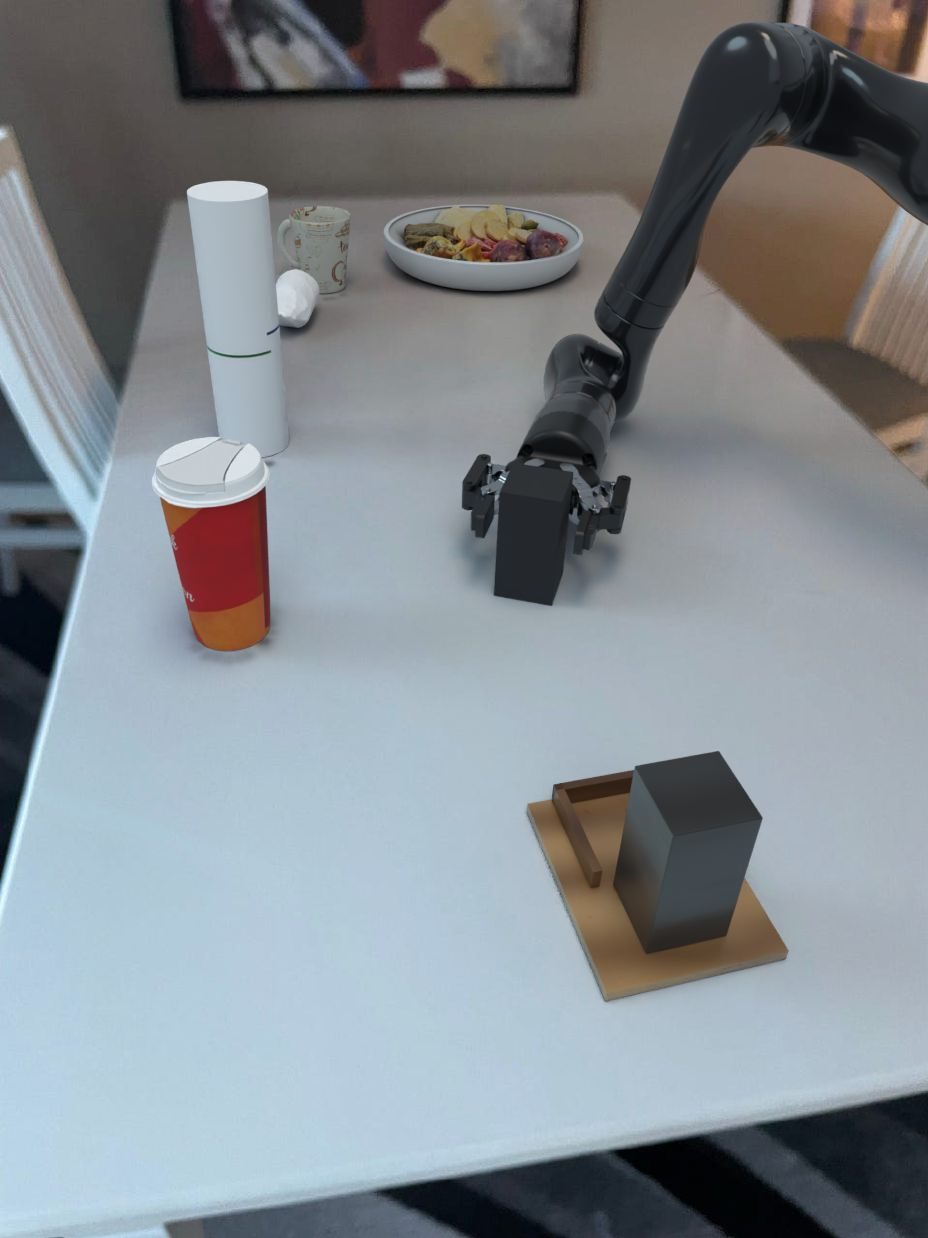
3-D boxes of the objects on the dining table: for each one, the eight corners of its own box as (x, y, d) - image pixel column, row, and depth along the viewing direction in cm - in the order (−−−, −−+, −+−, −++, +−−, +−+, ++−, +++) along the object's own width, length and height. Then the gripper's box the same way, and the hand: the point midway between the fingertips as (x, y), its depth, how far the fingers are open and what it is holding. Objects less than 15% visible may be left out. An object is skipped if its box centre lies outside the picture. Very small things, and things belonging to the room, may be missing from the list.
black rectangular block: (507, 563, 88) (513, 462, 82) (562, 573, 87) (573, 471, 81) (493, 595, 84) (499, 491, 78) (551, 605, 83) (562, 501, 77)
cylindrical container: (302, 435, 106) (283, 187, 91) (264, 464, 101) (237, 205, 86) (245, 421, 109) (218, 176, 93) (206, 448, 103) (169, 194, 88)
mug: (329, 300, 139) (325, 226, 133) (259, 282, 144) (252, 210, 138) (364, 284, 145) (362, 212, 139) (296, 267, 150) (291, 197, 144)
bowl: (343, 261, 153) (341, 207, 148) (480, 224, 170) (481, 175, 165) (485, 314, 136) (487, 256, 131) (620, 268, 153) (626, 215, 149)
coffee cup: (216, 588, 84) (192, 424, 75) (303, 611, 81) (289, 446, 72) (157, 645, 77) (122, 474, 68) (249, 672, 75) (226, 499, 66)
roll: (260, 341, 126) (256, 297, 123) (277, 308, 136) (273, 266, 133) (307, 343, 126) (304, 299, 123) (321, 309, 136) (318, 268, 133)
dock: (526, 811, 65) (538, 686, 58) (681, 783, 67) (709, 659, 61) (605, 1001, 54) (630, 874, 48) (786, 959, 57) (834, 832, 50)
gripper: (493, 399, 92) (444, 482, 79) (647, 420, 89) (622, 510, 77) (489, 471, 97) (442, 560, 84) (636, 493, 94) (611, 590, 81)
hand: (528, 536), depth 80 cm, fingers open, 7 cm apart
